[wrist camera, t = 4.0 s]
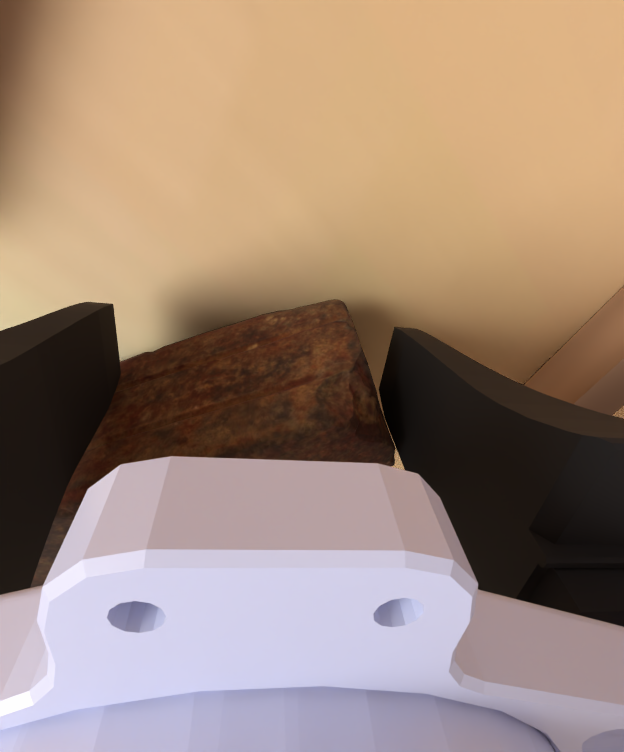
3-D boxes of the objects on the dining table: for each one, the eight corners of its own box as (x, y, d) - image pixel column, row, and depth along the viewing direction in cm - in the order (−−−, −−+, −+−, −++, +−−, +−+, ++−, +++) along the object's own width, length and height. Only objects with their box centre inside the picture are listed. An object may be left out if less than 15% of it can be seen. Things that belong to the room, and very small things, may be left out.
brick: (79, 466, 15) (40, 607, 12) (-9, 395, 13) (-91, 553, 9) (367, 376, 14) (411, 503, 11) (341, 279, 12) (389, 409, 8)
